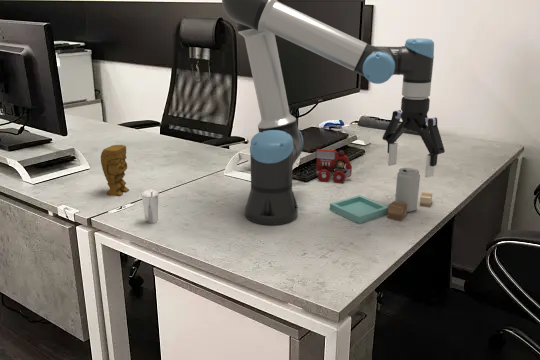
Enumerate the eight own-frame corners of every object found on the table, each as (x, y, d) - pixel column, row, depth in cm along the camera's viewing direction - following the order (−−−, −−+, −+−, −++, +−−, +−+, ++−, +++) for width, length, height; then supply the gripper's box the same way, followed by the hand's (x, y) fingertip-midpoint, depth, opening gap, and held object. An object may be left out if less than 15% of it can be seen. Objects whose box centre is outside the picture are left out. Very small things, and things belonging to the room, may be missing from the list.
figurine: (119, 197, 163) (115, 151, 158) (101, 195, 164) (96, 149, 159) (131, 189, 169) (127, 145, 164) (114, 187, 171) (109, 143, 166)
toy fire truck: (349, 184, 174) (351, 154, 171) (313, 181, 177) (314, 151, 174) (351, 177, 181) (353, 148, 177) (316, 174, 184) (317, 146, 180)
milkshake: (145, 226, 142) (143, 192, 139) (142, 219, 147) (139, 186, 143) (162, 224, 144) (160, 190, 140) (158, 216, 148) (155, 183, 145)
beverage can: (392, 204, 157) (395, 166, 153) (413, 204, 157) (417, 166, 153) (396, 212, 151) (400, 173, 147) (419, 213, 151) (423, 174, 147)
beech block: (429, 207, 155) (430, 198, 154) (419, 206, 156) (420, 197, 155) (431, 202, 160) (432, 192, 159) (421, 200, 161) (422, 191, 160)
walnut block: (400, 221, 146) (402, 208, 144) (387, 218, 148) (388, 205, 146) (406, 216, 149) (407, 203, 147) (392, 213, 151) (393, 200, 150)
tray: (358, 223, 144) (359, 217, 143) (329, 209, 153) (329, 203, 153) (388, 213, 150) (389, 207, 150) (359, 201, 160) (359, 195, 159)
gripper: (463, 101, 136) (455, 179, 143) (390, 89, 155) (386, 158, 162) (445, 105, 132) (437, 184, 139) (372, 92, 151) (369, 162, 158)
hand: (410, 170), depth 150 cm, fingers open, 13 cm apart
